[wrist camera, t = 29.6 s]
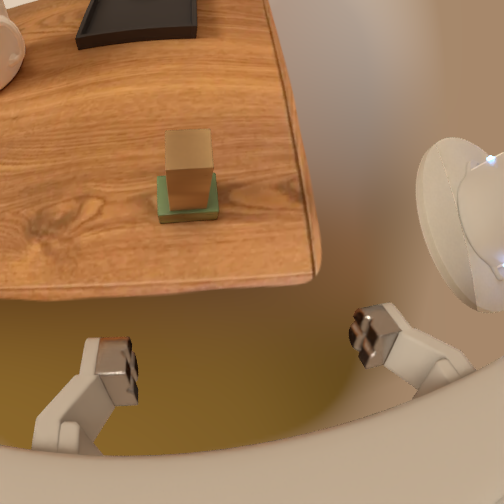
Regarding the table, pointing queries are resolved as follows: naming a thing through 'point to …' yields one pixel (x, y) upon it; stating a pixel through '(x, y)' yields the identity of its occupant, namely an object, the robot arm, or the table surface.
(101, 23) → the black tray
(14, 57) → the mug
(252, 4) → the table surface
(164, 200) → the scrub brush
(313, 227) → the table surface
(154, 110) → the table surface
